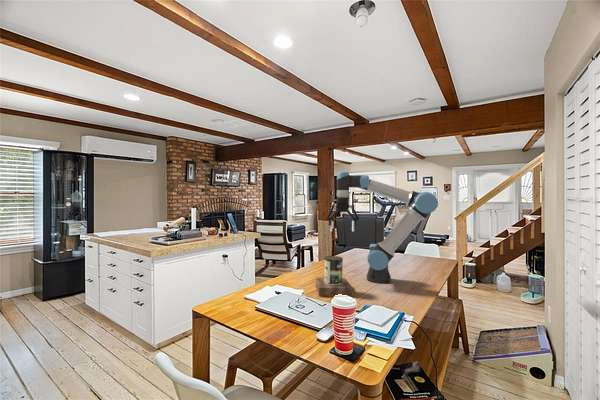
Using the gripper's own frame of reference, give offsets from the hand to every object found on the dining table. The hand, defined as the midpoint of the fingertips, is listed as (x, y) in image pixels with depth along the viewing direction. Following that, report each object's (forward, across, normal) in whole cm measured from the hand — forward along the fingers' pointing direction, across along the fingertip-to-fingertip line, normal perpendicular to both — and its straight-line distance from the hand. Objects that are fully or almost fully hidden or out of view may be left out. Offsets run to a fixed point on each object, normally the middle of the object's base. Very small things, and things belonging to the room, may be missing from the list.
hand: (342, 231), depth 175 cm
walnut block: (+32, +8, +16) cm, 36 cm away
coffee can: (+27, +8, +16) cm, 33 cm away
